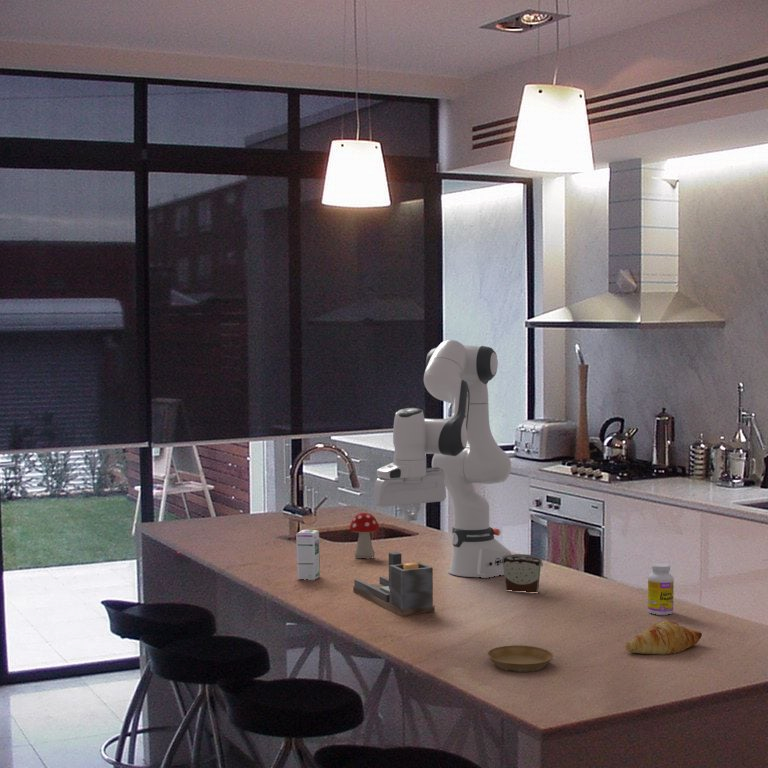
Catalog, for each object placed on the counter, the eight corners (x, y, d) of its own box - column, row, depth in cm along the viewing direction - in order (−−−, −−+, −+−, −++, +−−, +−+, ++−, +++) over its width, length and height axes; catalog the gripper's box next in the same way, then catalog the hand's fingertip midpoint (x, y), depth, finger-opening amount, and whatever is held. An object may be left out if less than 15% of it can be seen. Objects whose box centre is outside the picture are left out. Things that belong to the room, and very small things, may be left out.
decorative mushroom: (381, 555, 390) (381, 511, 390) (377, 560, 382) (376, 515, 381) (352, 554, 392) (352, 510, 391) (347, 559, 384) (346, 514, 383)
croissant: (633, 672, 268) (642, 646, 264) (610, 643, 276) (619, 617, 272) (707, 659, 277) (717, 633, 273) (683, 630, 285) (692, 605, 281)
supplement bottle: (659, 617, 305) (659, 568, 304) (642, 611, 311) (642, 563, 310) (678, 614, 308) (679, 565, 307) (661, 608, 314) (662, 561, 313)
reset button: (414, 584, 316) (414, 562, 316) (421, 587, 313) (420, 564, 312) (401, 585, 315) (401, 563, 314) (407, 588, 311) (407, 566, 311)
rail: (384, 588, 342) (384, 547, 341) (434, 611, 313) (434, 567, 312) (353, 591, 337) (352, 550, 337) (400, 615, 308) (400, 571, 308)
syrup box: (315, 580, 353) (314, 532, 352) (296, 579, 354) (296, 532, 353) (320, 576, 358) (319, 529, 358) (301, 575, 360) (301, 529, 359)
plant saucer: (548, 655, 271) (548, 644, 271) (557, 675, 256) (557, 663, 256) (484, 656, 271) (484, 645, 270) (490, 675, 256) (490, 664, 256)
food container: (548, 589, 337) (548, 555, 337) (542, 594, 332) (542, 559, 331) (508, 586, 343) (507, 552, 342) (501, 590, 337) (500, 556, 336)
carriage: (398, 592, 328) (397, 549, 327) (410, 598, 321) (410, 554, 320) (380, 594, 326) (379, 551, 325) (392, 600, 318) (391, 556, 318)
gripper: (439, 465, 319) (439, 515, 320) (370, 470, 311) (371, 521, 312) (449, 467, 314) (450, 518, 314) (380, 473, 305) (381, 525, 306)
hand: (410, 520), depth 313 cm, fingers closed
